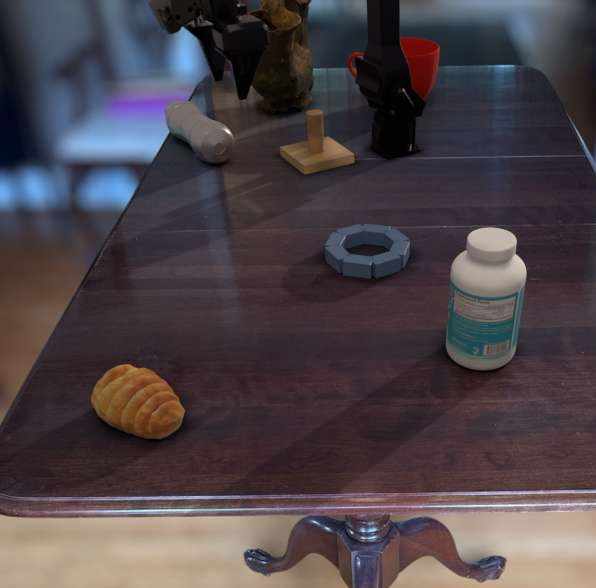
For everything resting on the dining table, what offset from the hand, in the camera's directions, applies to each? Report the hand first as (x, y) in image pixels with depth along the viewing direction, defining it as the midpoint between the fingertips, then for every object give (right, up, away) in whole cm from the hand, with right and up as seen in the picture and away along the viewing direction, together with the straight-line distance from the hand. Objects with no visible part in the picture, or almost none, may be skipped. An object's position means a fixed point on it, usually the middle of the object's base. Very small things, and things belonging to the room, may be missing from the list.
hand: (230, 90), depth 98 cm
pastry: (-3, -44, -29) cm, 53 cm away
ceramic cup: (+24, +15, +39) cm, 48 cm away
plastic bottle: (-4, -3, +13) cm, 14 cm away
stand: (+11, -3, +18) cm, 21 cm away
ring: (+19, -24, -6) cm, 32 cm away
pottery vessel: (+3, +15, +39) cm, 41 cm away
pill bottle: (+31, -38, -22) cm, 54 cm away
